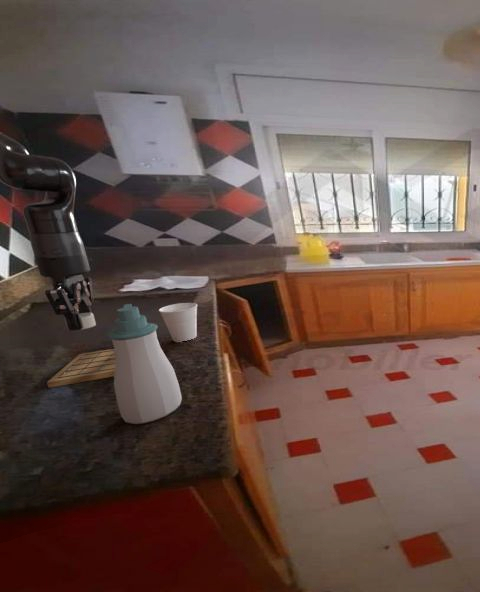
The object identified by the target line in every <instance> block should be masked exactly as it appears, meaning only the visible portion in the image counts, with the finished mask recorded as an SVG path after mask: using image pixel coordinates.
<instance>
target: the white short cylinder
mask: <svg viewBox="0 0 480 592" xmlns="http://www.w3.org/2000/svg"><path fill="white" fill-rule="evenodd" d="M79 314H80V317H81V321H82V324H83V328H82V329H80V330H79V331H82V330H87V329H91V328H94V327H95V326H97V322H96V319H95V318H96V317H95V314H94V313H93V312H92V313H79ZM64 322H65V325H66V328H67V330H68V331H70V330H69V329H68V326H67V323H66V320H65V319H64Z"/></svg>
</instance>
